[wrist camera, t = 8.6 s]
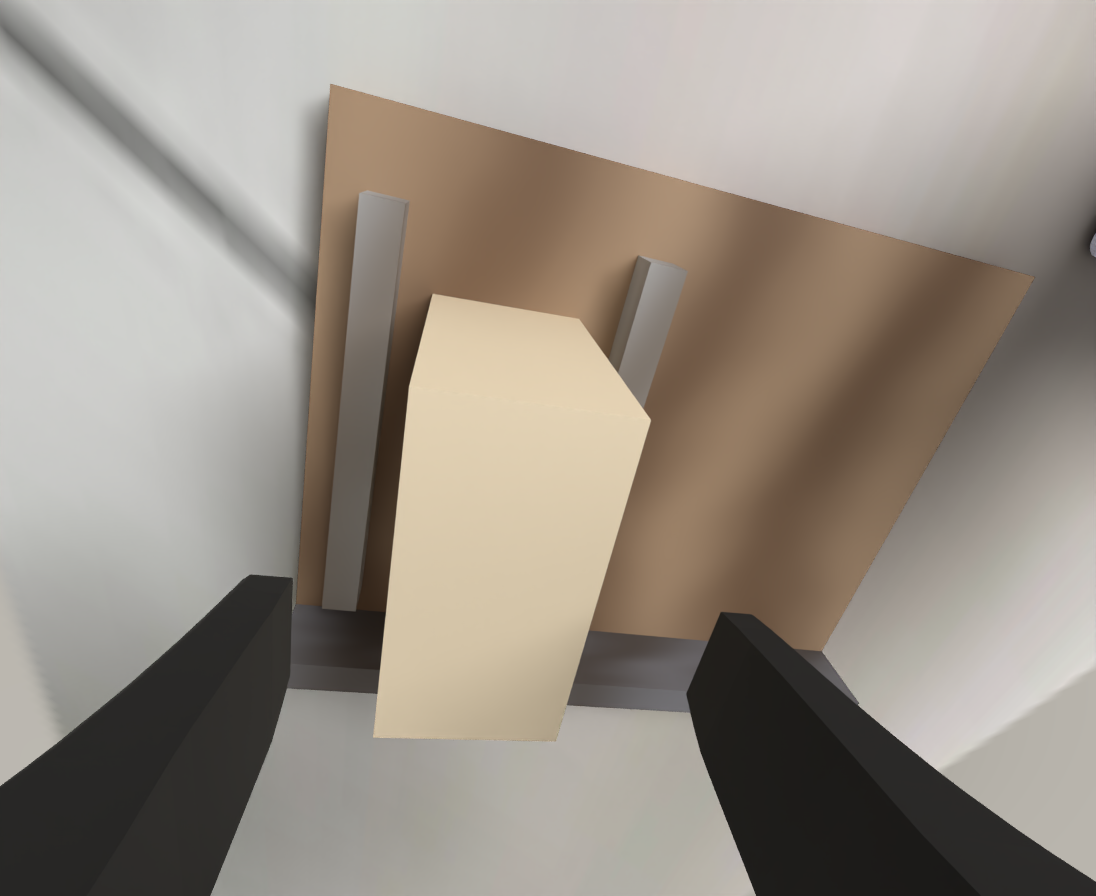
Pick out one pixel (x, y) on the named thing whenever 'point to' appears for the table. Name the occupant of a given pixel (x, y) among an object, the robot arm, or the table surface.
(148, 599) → the table surface
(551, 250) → the shelf
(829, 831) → the robot arm
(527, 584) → the carton
